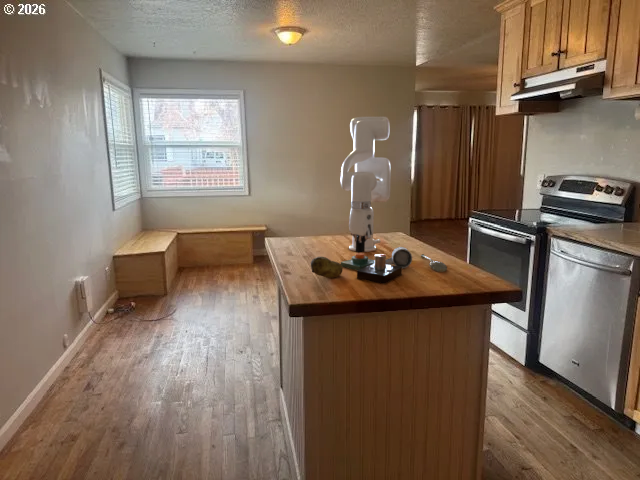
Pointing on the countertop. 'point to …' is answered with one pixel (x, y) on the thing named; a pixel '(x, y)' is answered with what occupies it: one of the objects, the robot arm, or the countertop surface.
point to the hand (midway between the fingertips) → (360, 251)
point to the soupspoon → (436, 264)
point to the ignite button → (360, 255)
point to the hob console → (379, 274)
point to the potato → (326, 267)
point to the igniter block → (357, 263)
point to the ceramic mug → (400, 258)
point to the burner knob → (380, 262)
